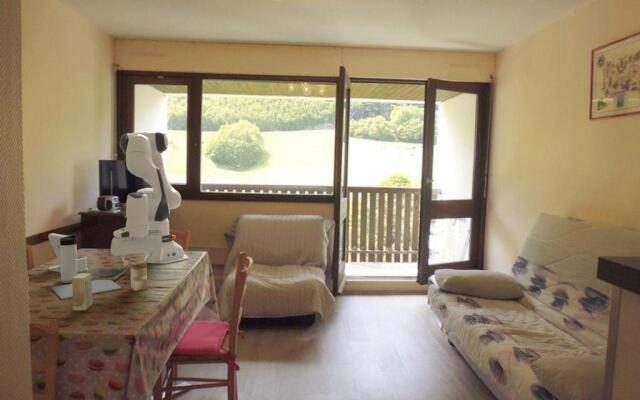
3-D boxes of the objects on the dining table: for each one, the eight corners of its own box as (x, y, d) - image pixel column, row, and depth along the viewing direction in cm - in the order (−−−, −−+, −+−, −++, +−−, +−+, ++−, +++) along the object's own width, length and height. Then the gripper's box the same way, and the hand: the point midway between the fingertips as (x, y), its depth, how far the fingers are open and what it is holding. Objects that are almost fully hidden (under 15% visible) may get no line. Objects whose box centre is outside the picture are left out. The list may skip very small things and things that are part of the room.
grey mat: (108, 279, 189) (108, 277, 189) (121, 289, 176) (121, 287, 176) (51, 288, 174) (51, 286, 174) (61, 299, 161) (61, 298, 161)
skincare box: (80, 304, 156) (80, 272, 155) (92, 304, 157) (92, 272, 155) (72, 310, 150) (71, 277, 149) (84, 310, 150) (83, 277, 149)
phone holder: (89, 270, 203) (88, 233, 201) (69, 274, 194) (68, 236, 192) (67, 265, 211) (66, 230, 209) (46, 269, 202) (45, 232, 200)
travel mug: (81, 280, 186) (80, 236, 184) (68, 284, 180) (67, 238, 178) (71, 278, 188) (69, 234, 187) (57, 282, 182) (56, 237, 180)
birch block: (142, 285, 181) (142, 260, 180) (147, 288, 177) (146, 263, 176) (130, 287, 178) (130, 262, 177) (135, 290, 174) (134, 265, 173)
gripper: (159, 228, 184) (159, 259, 185) (109, 232, 170) (109, 265, 172) (165, 230, 180) (164, 262, 181) (114, 234, 166) (114, 268, 167)
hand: (137, 263), depth 176 cm, fingers open, 8 cm apart
